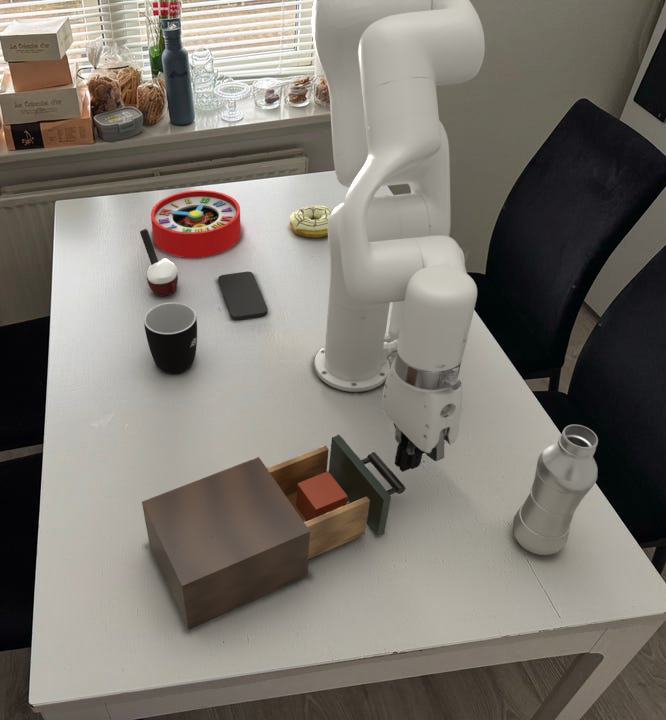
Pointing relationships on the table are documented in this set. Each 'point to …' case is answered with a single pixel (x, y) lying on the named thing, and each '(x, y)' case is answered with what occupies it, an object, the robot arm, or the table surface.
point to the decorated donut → (311, 221)
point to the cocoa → (159, 270)
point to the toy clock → (196, 223)
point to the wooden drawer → (353, 479)
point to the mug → (172, 336)
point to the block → (319, 496)
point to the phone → (242, 295)
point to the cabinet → (226, 540)
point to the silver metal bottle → (557, 491)
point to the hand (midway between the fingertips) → (407, 464)
